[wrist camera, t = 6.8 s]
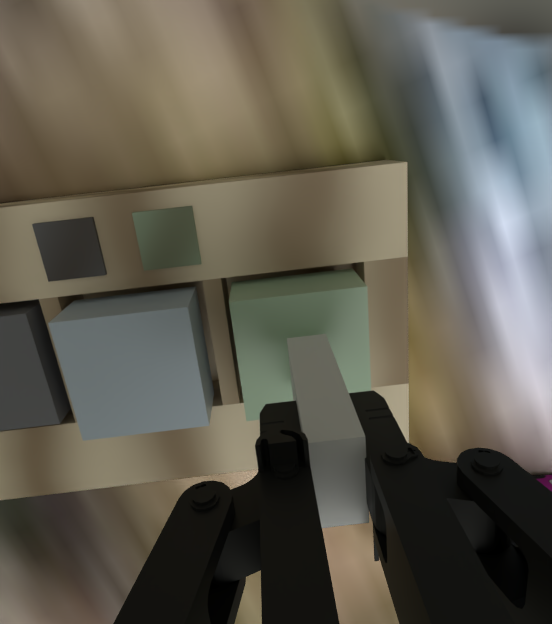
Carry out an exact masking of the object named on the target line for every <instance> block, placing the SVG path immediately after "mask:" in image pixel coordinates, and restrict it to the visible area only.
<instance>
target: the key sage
mask: <svg viewBox="0 0 552 624" xmlns="http://www.w3.org/2000/svg"><path fill="white" fill-rule="evenodd" d="M229 306H230V313H231V320H232V327H233V333H234V340H235V347H236V354H237V360H238V367H239V374H240V381H241V387H242V394H243V401H244V408H245V414H246V421H253V420H260V412H261V410H262V409H263V407H264V406H265V404H270V403H279V402H287V401H293V394H292V384H291V375H290V365H289V356H288V346H287V338H293V337H302V336H311V335H319V334H326V336H327V338H328V341H329V344H330V346H331V349H332V351H333V354H334V356H335V359H336V362H337V364H338V367H339V369H340V372H341V375H342V377H343V380H344V382H345V385H346V388H347V390H348V393H355V392H363V391H371V371H370V345H369V318H368V292H367V285H366V284H365V283H364V282H363V281H362V279H361V278H360V277H359V276H358V274H357V273H356V272H355V271H354V270H353V268H351V269H342V270H333V271H324V272H316V273H307V274H298V275H290V276H281V277H272V278H264V279H255V280H246V281H238V282H232V284H231V291H230V298H229Z"/></svg>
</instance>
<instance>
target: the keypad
mask: <svg viewBox="0 0 552 624" xmlns="http://www.w3.org/2000/svg"><path fill="white" fill-rule="evenodd" d="M351 268H353V270H354V271H355V272H356V273H357V274H358V276H359V277H360V278H361V279H362V281H363V282H364V283H365V284H366V285H367V292H368V318H369V345H370V371H371V391H372V390H374V391H375V392H377V393H378V394H379V395H381V396H382V397H384V398H385V400H386V402H387V404H388V406H389V409H390V410H391V412H392V414H393V417H394V418H395V420H396V422H397V423H398V425H399V427H400V429H401V431H402V433H403V435H404V437H405V439H406V441H407V443H409V379H408V212H407V162H402V161H392V160H381V161H372V162H363V163H354V164H346V165H337V166H328V167H319V168H310V169H301V170H292V171H283V172H274V173H265V174H257V175H248V176H239V177H230V178H221V179H212V180H203V181H194V182H185V183H177V184H168V185H159V186H150V187H141V188H132V189H123V190H114V191H105V192H96V193H88V194H79V195H70V196H61V197H52V198H43V199H34V200H25V201H16V202H7V203H0V304H1V303H9V302H18V301H27V300H35V299H39V301H40V305H41V308H42V312H43V315H44V318H45V322H46V325H47V328H48V332H49V335H50V338H51V342H52V345H53V348H54V352H55V355H56V358H57V362H58V365H59V369H60V372H61V375H62V379H63V382H64V385H65V389H66V392H67V395H68V399H69V402H70V405H71V409H70V410H69V411H68V413H67V414H66V416H65V417H64V419H63V420H62V422H61V423H60V424H54V425H45V426H37V427H29V428H20V429H12V430H3V431H0V500H7V499H15V498H23V497H32V496H40V495H48V494H57V493H65V492H73V491H82V490H90V489H98V488H107V487H115V486H124V485H132V484H140V483H149V482H157V481H165V480H174V479H182V478H190V477H199V476H207V475H215V474H224V473H232V472H240V471H249V470H257V469H258V464H257V457H256V450H255V444H256V440H257V439H258V438H259V437H260V420H253V421H246V414H245V408H244V401H243V394H242V387H241V381H240V374H239V367H238V360H237V354H236V347H235V340H234V333H233V327H232V320H231V313H230V306H229V298H230V291H231V284H232V282H238V281H246V280H255V279H264V278H272V277H281V276H290V275H298V274H307V273H316V272H324V271H333V270H342V269H351ZM194 286H196V290H197V295H198V301H199V307H200V313H201V319H202V325H203V330H204V336H205V342H206V348H207V354H208V359H209V365H210V371H211V377H212V383H213V388H214V397H213V404H212V411H211V417H210V424H209V426H203V427H194V428H186V429H177V430H169V431H161V432H152V433H144V434H135V435H127V436H118V437H110V438H102V439H93V440H85V441H83V439H82V436H81V433H80V429H79V426H78V423H77V419H76V416H75V412H74V409H73V406H72V402H71V399H70V396H69V392H68V389H67V385H66V382H65V379H64V375H63V372H62V369H61V365H60V362H59V358H58V355H57V352H56V348H55V345H54V342H53V338H52V335H51V332H50V328H49V325H48V323H49V322H50V321H51V320H52V319H53V318H55V317H56V316H57V315H58V314H59V313H60V312H61V311H63V310H64V309H65V308H66V307H67V306H68V305H70V304H71V303H72V302H73V301H74V300H81V299H90V298H99V297H107V296H116V295H125V294H133V293H142V292H151V291H159V290H168V289H177V288H185V287H194Z"/></svg>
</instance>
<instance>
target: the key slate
mask: <svg viewBox="0 0 552 624" xmlns="http://www.w3.org/2000/svg"><path fill="white" fill-rule="evenodd" d="M48 325H49V328H50V332H51V335H52V338H53V342H54V345H55V348H56V352H57V355H58V358H59V362H60V365H61V369H62V372H63V375H64V379H65V382H66V385H67V389H68V392H69V396H70V399H71V402H72V406H73V409H74V412H75V416H76V419H77V423H78V426H79V429H80V433H81V436H82V439H83V441H85V440H93V439H102V438H110V437H118V436H127V435H135V434H144V433H152V432H161V431H169V430H177V429H186V428H194V427H203V426H209V424H210V417H211V411H212V404H213V397H214V388H213V383H212V377H211V371H210V365H209V359H208V354H207V348H206V342H205V336H204V330H203V325H202V319H201V313H200V307H199V301H198V295H197V290H196V286H194V287H185V288H177V289H168V290H159V291H151V292H142V293H133V294H125V295H116V296H107V297H99V298H90V299H81V300H74V301H73V302H72V303H71V304H70V305H68V306H67V307H66V308H65V309H64V310H63V311H61V312H60V313H59V314H58V315H57V316H56V317H55V318H53V319H52V320H51V321H50V322H49V323H48Z"/></svg>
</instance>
